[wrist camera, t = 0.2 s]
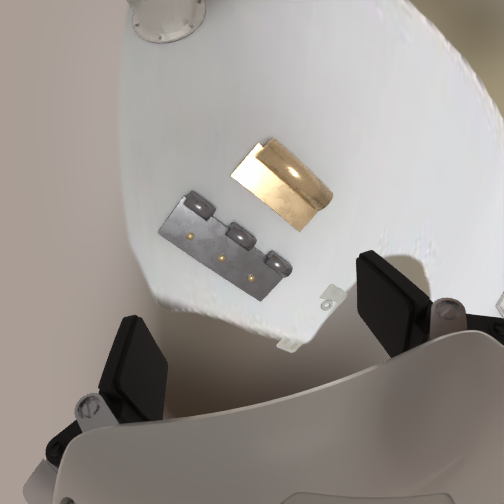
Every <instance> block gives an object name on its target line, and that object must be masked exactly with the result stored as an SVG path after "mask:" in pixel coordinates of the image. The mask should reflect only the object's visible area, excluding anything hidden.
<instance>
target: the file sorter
mask: <svg viewBox="0 0 504 504" xmlns="http://www.w3.org/2000/svg"><path fill="white" fill-rule="evenodd" d="M496 307H497V309H498V310H499V312H500V314H501V315H502V317H503V319H504V293H503V294H502V296H501V298H500V300H499V301H498V303H497V304H496Z"/></svg>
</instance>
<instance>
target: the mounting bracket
mask: <svg viewBox="0 0 504 504" xmlns="http://www.w3.org/2000/svg"><path fill="white" fill-rule="evenodd" d="M346 297H347V293H346V292H344V291H343V290H341V289H340V288H338V287H337V286H335V285H333V284H332V285H330V286H329V287H328V288H327V289H326V290H325V292H324V293H323V294H322V295H321V296H320V298H322V299H326V300H325V301H324V302H323V303H322V304H321V308H322V309H323V310H329V309H330V308H331V307H332V301H334V302H336V304H335V305H334V307H333V309H332V310H331V311H330V313H329V314H328V316H327V318H328V317H329V316H330V315H331V314H332V313H333V312H334V310H335V309H336V308H337V307H338V306H339V305H340V304H341V302H342V301H343V300H344V299H345V298H346ZM326 303H329V304H330V305H329V307H327V308H325V307H324V305H325V304H326ZM327 318H326V319H327ZM326 319H325V320H326ZM321 325H322V324H321ZM301 345H302V344H298V343H295V342H291V341H286V340H280V341H279V342H278V343H277V345H276V346H277V347H278V348H280V349H283V350H285V351H288V352H290V353H293V352H295V351H296V350H297V349H298V348H299V347H300V346H301Z"/></svg>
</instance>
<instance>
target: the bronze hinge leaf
mask: <svg viewBox="0 0 504 504" xmlns="http://www.w3.org/2000/svg"><path fill="white" fill-rule="evenodd" d="M231 176H232V177H233V178H235V179H236V180H237V181H238V182H240V183H241V184H242V185H243V186H245V187H246V188H247V189H248V190H250V191H251V192H252V193H253V194H255V195H256V196H257V197H258V198H260V199H261V200H262V201H263V202H264V203H266V204H267V205H268V206H269V207H271V208H272V209H273V210H274V211H275V212H277V213H278V214H279V215H280V216H281V217H283V218H284V219H285V220H286V221H287V222H289V223H290V224H291V225H292V226H293V227H295V228H296V229H297V230H298V231H299V232H300V231H301V230H302V229H303V228H304V227H305V226H306V224H307V223H308V222H309V221H310V220H311V219H312V218H313V216H314V215H315V214H316V213H317V212H318V211H320V210H322V209H324V208H325V207H326V206H327V205H328V204H329V203H330V201H331V200H332V197H333V193H332V192H331V191H330V190H329V189H328V188H327V187H326V186H325V185H324V184H323V183H322V182H321V181H320V180H319V179H318V178H317V177H316V176H315V175H314V174H313V173H312V172H311V171H310V170H309V169H308V168H307V167H306V166H305V165H303V164H302V163H301V162H300V161H299V160H298V159H297V158H296V157H295V156H294V155H293V154H291V153H290V152H289V151H288V150H287V149H286V148H285V147H284V146H283V145H281V144H280V143H279V142H278V141H277V140H276V139H275V138H271V139H270V140H268V141H267V142H266V143H265V144H264V146H263V147H262V146H261V145H260V144H259V143H257V145H256V146H255V147H254V148H253V149H252V150H251V152H250V153H249V154H248V155H247V156H246V157H245V158H244V160H243V161H242V162H241V163H240V164H239V166H238V167H237V168H236V169H235V170H234V172H233V173H232V174H231Z"/></svg>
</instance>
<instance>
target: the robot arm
mask: <svg viewBox="0 0 504 504" xmlns="http://www.w3.org/2000/svg"><path fill="white" fill-rule="evenodd" d="M127 1H128V3H129V4H130V6H131V8H132V9H133V11H134V15H133V27H134V29H135V31H136V33H137V34H138V35H139V36H140V37H141V38H143V39H145V40H147V41H150V42H154V43H168V42H173V41H176V40H179V39H182V38H184V37H186V36H188V35H189V34H191V33H192V32H193V31H194V30H196V29H197V28H198V26H199V25H200V24H201V23H202V21H203V19H204V16H205V3H204V0H127ZM198 3H200V4H198ZM138 26H139V27H138ZM192 26H193V28H191V27H192ZM160 38H162V39H161V40H160ZM356 272H357V308H358V313H359V315H360V317H361V318H362V319H363V321H364V322H365V323H366V325H367V326H368V327H369V328H370V330H371V331H372V333H373V334H374V335H375V336H376V338H377V339H378V341H379V342H380V343H381V345H382V346H383V347H384V349H385V350H386V352H387V353H388V354H389V356H390V357H391V359H389V360H386V361H384V362H382V363H379V364H377V365H374V366H372V367H370V368H367V369H365V370H362V371H360V372H357V373H355V374H353V375H350V376H347V377H345V378H342V379H339V380H337V381H333V382H331V383H328V384H325V385H322V386H319V387H316V388H313V389H310V390H306V391H303V392H300V393H297V394H293V395H290V396H286V397H283V398H279V399H275V400H271V401H267V402H264V403H259V404H256V405H251V406H247V407H242V408H237V409H232V410H228V411H222V412H217V413H212V414H205V415H198V416H192V417H185V418H176V419H167V420H163V411H164V400H165V390H166V381H167V372H168V364H167V361H166V359H165V357H164V356H163V354H162V353H161V351H160V349H159V347H158V345H157V344H156V342H155V340H154V339H153V337H152V335H151V333H150V332H149V330H148V328H147V326H146V324H145V323H144V321H143V319H142V318H141V317H138V316H137V315H132V316H128V317H124V318H123V319H122V322H121V324H120V327H119V329H118V332H117V335H116V337H115V340H114V342H113V345H112V348H111V351H110V353H109V356H108V359H107V362H106V365H105V368H104V371H103V373H102V377H101V380H100V383H99V386H98V388H99V389H100V390H99V394H97V393H90V394H87V395H85V396H83V397H82V398H81V399H80V400H79V401H78V403H77V404H76V407H75V417H76V419H77V420H75V421H74V422H73V423H72V424H70V425H69V426H68V427H67V428H65V429H64V430H63V431H62V432H60V433H59V434H58V435H56V436H55V437H54V438H53V439H52V440H51V441H50V442H49V443H48V445H47V447H46V458H47V460H44V459H43V460H42V461H41V462H40V464H39V465H38V466H37V468H36V469H35V471H34V472H33V473H32V475H31V476H30V477H29V479H28V480H27V482H26V483H25V485H24V487H23V494H24V497H25V499H26V501H27V502H28V504H504V319H503V318H498V317H489V316H480V315H472V314H466V311H465V307H464V306H463V305H462V303H460V302H459V301H458V300H455V299H452V298H441V299H438V300H436V301H435V302H434V303H433V302H432V301H431V300H430V299H429V297H428V296H427V295H426V294H425V293H424V292H423V291H422V290H420V289H419V288H418V287H417V286H416V285H415V284H413V283H412V282H411V281H410V280H409V279H408V278H406V277H405V276H404V275H403V274H401V273H400V272H399V271H398V270H397V269H395V268H394V267H393V266H392V265H390V264H389V263H388V262H387V261H386V260H384V259H383V258H382V257H381V256H379V255H378V254H377V253H376V252H374V251H373V250H370V251H367V252H364V253H360V254H359V258H357V259H356Z"/></svg>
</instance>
